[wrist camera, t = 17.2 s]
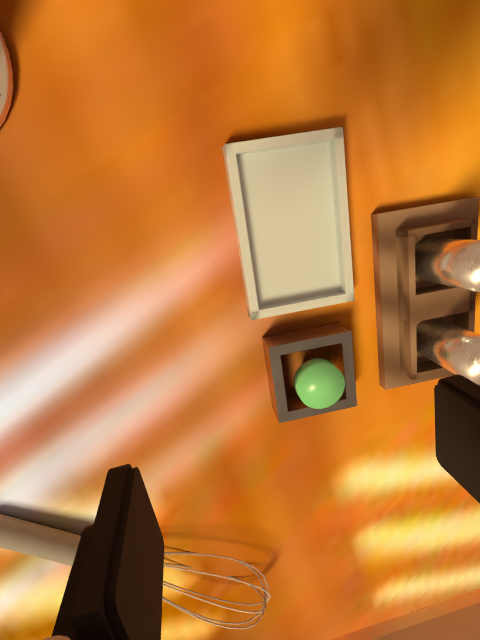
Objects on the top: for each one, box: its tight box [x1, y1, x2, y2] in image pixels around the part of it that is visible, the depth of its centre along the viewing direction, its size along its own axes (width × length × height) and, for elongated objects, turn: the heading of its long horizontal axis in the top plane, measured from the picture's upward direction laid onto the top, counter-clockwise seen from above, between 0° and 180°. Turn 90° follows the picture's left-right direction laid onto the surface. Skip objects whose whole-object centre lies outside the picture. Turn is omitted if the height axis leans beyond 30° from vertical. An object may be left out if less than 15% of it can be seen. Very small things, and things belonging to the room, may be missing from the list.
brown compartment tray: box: [371, 197, 479, 390], centre depth 35 cm, size 18×10×3 cm, turn 9°
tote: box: [222, 127, 354, 320], centre depth 32 cm, size 15×10×2 cm, turn 9°
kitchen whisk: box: [0, 514, 271, 629], centre depth 38 cm, size 6×34×6 cm, turn 67°
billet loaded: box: [416, 318, 480, 386], centre depth 33 cm, size 4×4×8 cm
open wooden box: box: [262, 322, 357, 423], centre depth 36 cm, size 8×8×3 cm
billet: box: [415, 238, 480, 292], centre depth 31 cm, size 4×4×8 cm
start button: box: [294, 358, 345, 409], centre depth 35 cm, size 4×4×4 cm
